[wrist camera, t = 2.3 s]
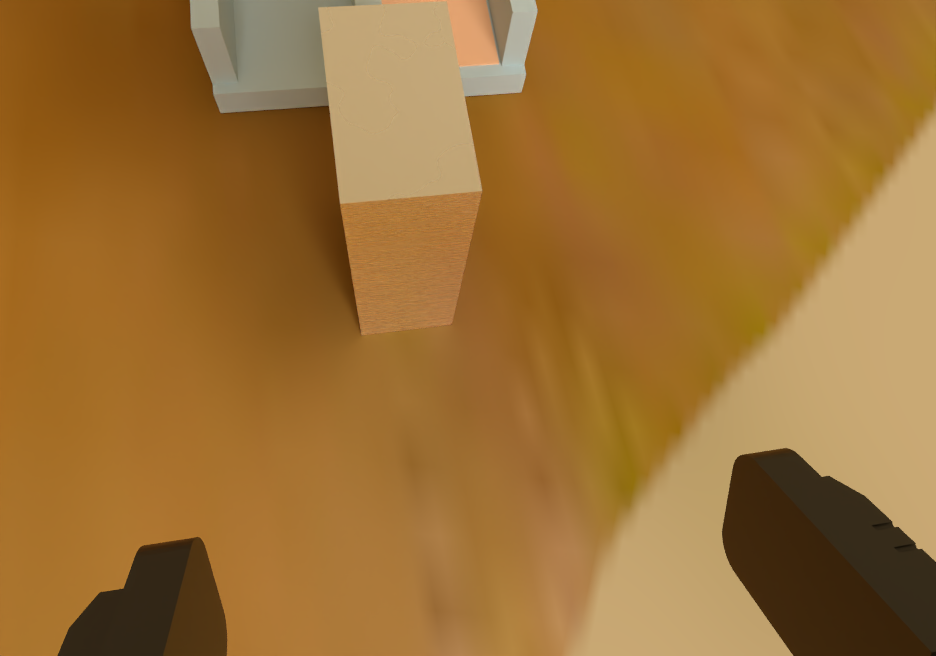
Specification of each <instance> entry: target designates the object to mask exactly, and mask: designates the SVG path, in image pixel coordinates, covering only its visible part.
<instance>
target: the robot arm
mask: <svg viewBox="0 0 936 656" xmlns="http://www.w3.org/2000/svg"><path fill="white" fill-rule="evenodd" d="M722 537H723V545H724V549H725V553H726V556H727V558H728V561H729V563H730V565H731V567H732V569H733V570H734V572H735V573H736V575H737V576H738V578H739V579H740V581H741V582H742V583H743V585H744V586H745V588H746V589H747V591H748V592H749V593H750V595H751V596H752V598H753V599H754V600H755V602H756V603H757V605H758V606H759V607H760V609H761V610H762V612H763V613H764V615H765V616H766V617H767V619H768V620H769V622H770V623H771V624H772V626H773V627H774V629H775V630H776V632H777V633H778V634H779V636H780V637H781V639H782V640H783V642H784V643H785V644H786V646H787V647H788V649H789V650H790V652H791V653H792V654H793V656H936V562H935V561H934V560H933V559H932V558H931V557H930V556H929V555H928V554H927V553H925V552H924V551H923V550H922V549H917V548H916V545H915V542H914V541H913V540H911V539H910V538H909V537H908V536H907V535H906V534H905V533H904V532H903V531H902V530H901V529H900V528H899V527H894V526H893V524H892V521H891V520H890V519H889V518H888V517H887V516H886V515H885V514H883V513H882V512H881V511H880V510H879V509H878V508H877V507H876V506H875V505H874V504H872V502H871V501H870V500H868V499H867V498H866V497H865V496H864V495H862V494H860V493H858V492H856V491H855V490H853V489H851V488H849V487H848V486H846V485H844V484H842V483H841V482H839V481H837V480H835V479H833V478H832V477H830V476H825V477H821V476H820V475H819V474H818V473H817V472H816V471H815V470H814V469H813V468H812V467H811V466H810V465H809V464H808V463H807V462H806V461H805V460H804V459H803V458H801V457H800V456H799V455H798V454H797V453H796V452H795V451H793V450H791V449H787V448H783V449H777V450H771V451H764V452H758V453H752V454H745V455H740V456H739V457H737V459H736V460H735V463H734V465H733V471H732V476H731V482H730V488H729V494H728V499H727V506H726V512H725V517H724V523H723V529H722ZM226 655H227V629H226V620H225V614H224V610H223V607H222V603H221V600H220V596H219V593H218V590H217V586H216V583H215V579H214V576H213V572H212V569H211V565H210V562H209V558H208V555H207V551H206V548H205V545H204V543H203V541H202V540H201V538H199V537H196V538H190V539H183V540H177V541H170V542H164V543H157V544H151V545H144V546H142V547H140V548H139V550H138V551H137V553H136V556H135V558H134V561H133V564H132V567H131V570H130V572H129V575H128V578H127V581H126V584H125V586H124V589H119V590H113V591H106V592H100V593H99V594H98V595H97V596H96V597H95V599H94V600H93V601H92V602H91V603H90V604H89V606H88V607H87V608H86V609H85V610H84V611H83V613H82V614H81V615H80V616H79V617H78V618H77V620H76V621H75V622H74V623H73V624H72V625H71V627H70V628H69V630H68V632H67V634H66V637H65V639H64V642H63V644H62V646H61V649H60V651H59V653H58V656H226Z"/></svg>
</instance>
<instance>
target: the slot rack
mask: <svg viewBox="0 0 936 656" xmlns="http://www.w3.org/2000/svg"><path fill="white" fill-rule="evenodd" d="M442 1H447V5H448V11H449V16H450V21H451V27H452V32H453V37H454V43H455V48H456V53H457V59H458V64H459V69H460V75H461V80H462V85H463V91H464V96H477V95H491V94H506V93H520V92H522V88H523V84H524V81H525V77H526V71H525V67H524V63H525V59H526V55H527V51H528V47H529V43H530V39H531V35H532V31H533V27H534V24H535V20H536V16H537V12H538V10H537V6H536V2H535V0H190V14H191V30H192V32H193V35H194V38H195V40H196V43H197V45H198V48H199V50H200V53H201V55H202V58H203V61H204V63H205V66H206V68H207V71H208V73H209V76H210V79H211V81H212V84H213V95H214V98H215V100H216V103H217V105H218V108H219V110H220V113H229V112H244V111H258V110H273V109H287V108H302V107H317V106H329V101H328V92H327V83H326V74H325V65H324V56H323V47H322V38H321V29H320V20H319V11H318V7H337V6H358V5H379V4H400V3H421V2H442Z"/></svg>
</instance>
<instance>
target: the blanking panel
mask: <svg viewBox="0 0 936 656" xmlns="http://www.w3.org/2000/svg"><path fill="white" fill-rule="evenodd" d="M318 11H319V20H320V29H321V38H322V47H323V56H324V65H325V74H326V83H327V92H328V101H329V110H330V119H331V128H332V136H333V145H334V154H335V163H336V172H337V181H338V190H339V199H340V207H341V213H342V219H343V225H344V231H345V238H346V244H347V250H348V256H349V262H350V268H351V274H352V281H353V287H354V293H355V299H356V305H357V311H358V317H359V324H360V330H361V335H369V334H377V333H386V332H394V331H403V330H411V329H420V328H428V327H436V326H445V325H452V322H453V317H454V313H455V309H456V304H457V300H458V295H459V291H460V287H461V282H462V278H463V274H464V269H465V265H466V260H467V256H468V252H469V247H470V243H471V239H472V234H473V230H474V225H475V221H476V217H477V212H478V208H479V204H480V199H481V195H482V187H481V181H480V176H479V171H478V165H477V160H476V155H475V149H474V144H473V139H472V133H471V128H470V123H469V117H468V112H467V107H466V101H465V96H464V91H463V85H462V80H461V75H460V69H459V64H458V59H457V53H456V48H455V43H454V37H453V32H452V27H451V21H450V16H449V11H448V5H447V1H442V2H421V3H400V4H379V5H358V6H337V7H318Z"/></svg>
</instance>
